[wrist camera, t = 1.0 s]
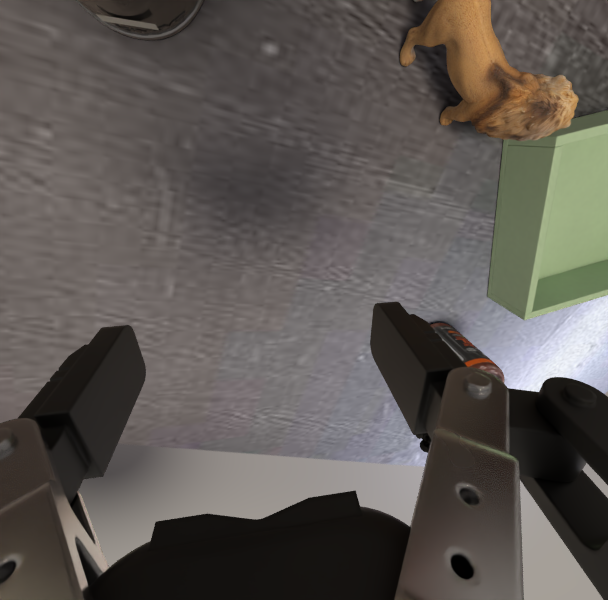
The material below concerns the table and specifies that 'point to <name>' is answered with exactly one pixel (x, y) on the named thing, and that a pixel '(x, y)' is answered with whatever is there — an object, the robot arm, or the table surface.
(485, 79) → the lion figurine
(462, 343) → the supplement bottle
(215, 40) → the table surface
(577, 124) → the desk bin
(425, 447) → the black animal figurine
